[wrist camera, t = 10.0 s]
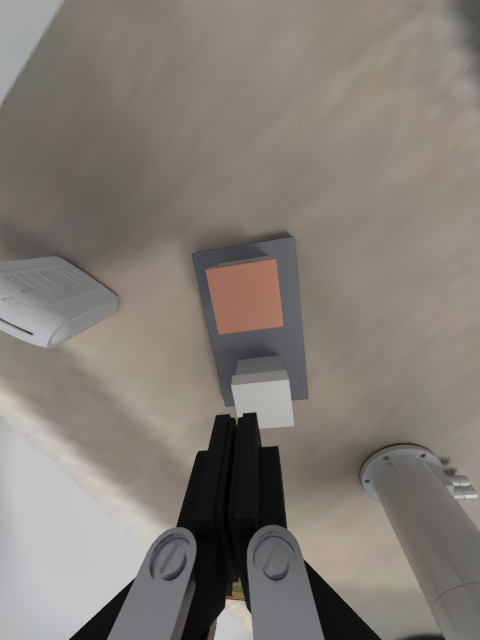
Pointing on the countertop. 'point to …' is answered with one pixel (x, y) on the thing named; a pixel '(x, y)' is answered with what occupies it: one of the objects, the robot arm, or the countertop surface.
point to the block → (264, 344)
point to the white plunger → (264, 397)
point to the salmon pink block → (245, 295)
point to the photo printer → (50, 300)
